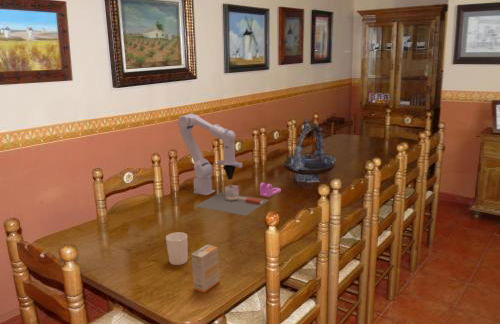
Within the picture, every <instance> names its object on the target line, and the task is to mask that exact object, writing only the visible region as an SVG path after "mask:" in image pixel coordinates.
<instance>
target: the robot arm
mask: <svg viewBox="0 0 500 324" xmlns="http://www.w3.org/2000/svg"><path fill="white" fill-rule="evenodd" d="M177 125H178V127H179V134H180V136H181V138H182V140H183V142H184V145H185V146H186V149H187V150H188V152H189V154H190V156H191V158H192V160H193V162H194V165H193V168H194V173H195V174H194V175H195V176H194V179H193V194H198V195H203V196H208V195H210V194H213V193H214V192H216V190H215V189H213V188H212V187H213V186H212V185H213V184H212V183H213V182H212V173H213V171H214V167H213V165H212V164H211V163H210V162H209V161H208V159H206V158H204V155H203V153H202V152H201V150H200V148H199V146H198V144H197V142H196V140H195V138H194V136H193V134H192V130H193V128H194V126H199V127H200V128H202V129H205V130H207V131H209V132H210V134H211V135H212V136H214V137H216V138H218V139H220V140H221V142H222V144H223V160H222V159H220V160H219V159H218V160H217V165H221V166H222V165H223V170H224V171H225V173H226V176H227V179H228V180H232V179H233V177H234V173H235V170H236V168H237V167H238V168H240V169H241V168H243V162H239V161H236V149H235V147H236V146H235V140H236V138H237V134H236V132H235V131H233V130H232V129H230V130H228V129H227V128H224V127H222V126H221V125H220V124H211V123H210V122H208V121H206V120H205V119H203V118H201V117H200V116H199V115H198V114H195V113H193V112H191V113H188V114H185V115H181V116H180V117H179V118H178V120H177Z"/></svg>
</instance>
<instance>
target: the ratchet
mask: <svg viewBox="0 0 500 324" xmlns="http://www.w3.org/2000/svg"><path fill="white" fill-rule="evenodd" d="M239 195H240V194H239ZM239 195H238V196H236V197H234V198H231V197H226V201H230V202H233V201H239V202H245V203H250V204H256V205H261V204H263V199H264V198H260V199H256V198H257V197H254V198H250V197H251V196H248V197H249V198H245V197H239ZM263 205H264V204H263ZM261 206H262V205H261Z"/></svg>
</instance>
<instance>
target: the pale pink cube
mask: <svg viewBox="0 0 500 324" xmlns="http://www.w3.org/2000/svg"><path fill="white" fill-rule="evenodd" d="M224 193H225V197H231V198H234V197H236V196H238V195H240V194H239V185H236V184H235V185H234V184H228V185H227V186H225V187H224Z"/></svg>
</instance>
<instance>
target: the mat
mask: <svg viewBox="0 0 500 324" xmlns="http://www.w3.org/2000/svg"><path fill="white" fill-rule="evenodd" d="M239 197H245V198H249V197H250V198H256V199H261V198H260V197H259V198H258V197H253V196H248V195H240V194H239ZM262 199H263V204H261V205H256V204H250V203H245V202H239V201H233V202H230V201H226V197H225V192H221V191H220V192H219V193H216V194H215V195H212V196H210V197H209V198H207V199H205V200H203V201H201V202H200V203H197V204H196V205H194V207H195V208H201V209H206V210H207V209H208V210H211V211H217V212H223V213H229V214H235V215H240V216H248V215H249V214H251V213H252V212H254V211H255V210H257V209H258V208H260V207H261V206H263V205H265V204H266V203H267V202H269V200H270V199H267V198H266V199H265V198H262Z"/></svg>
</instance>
